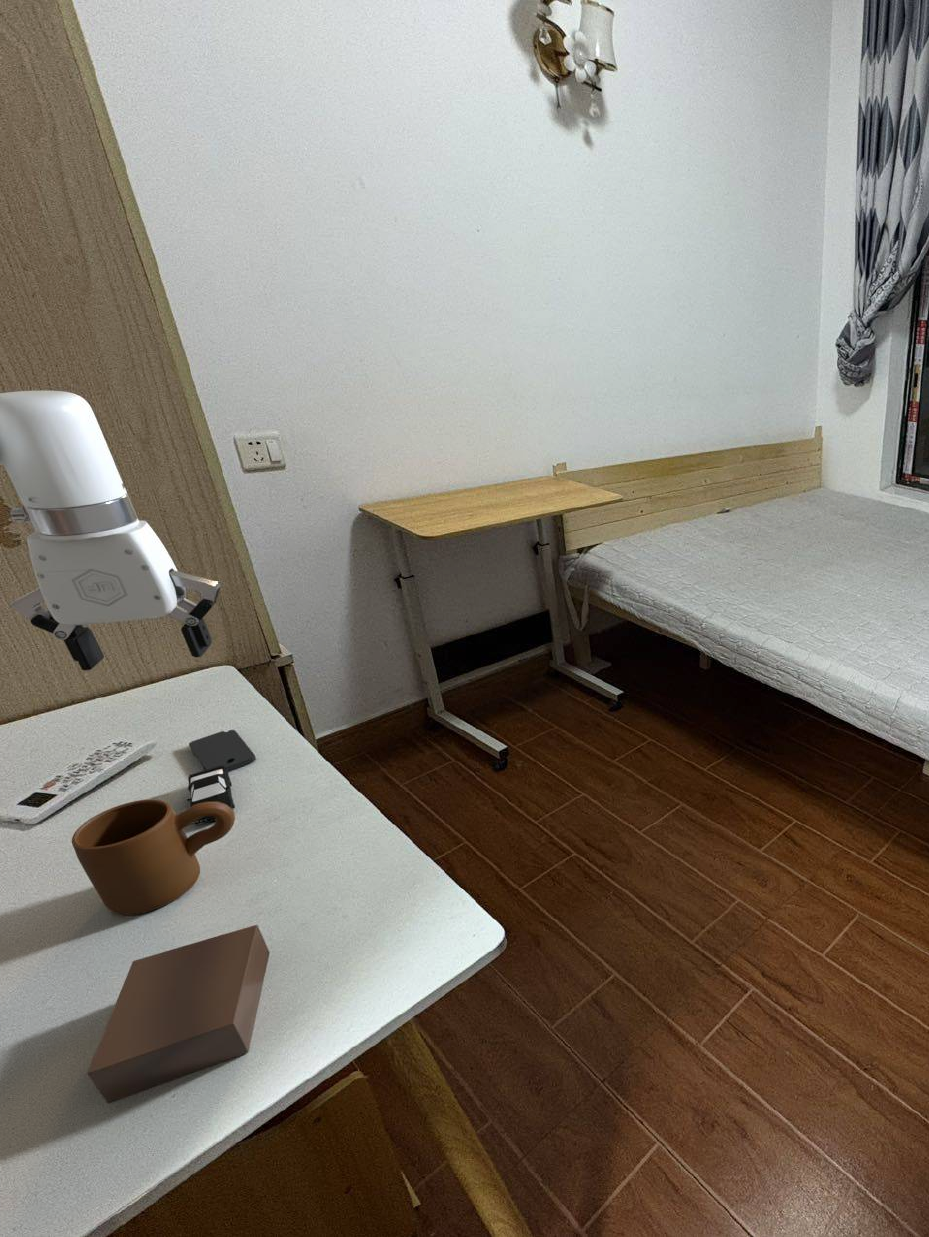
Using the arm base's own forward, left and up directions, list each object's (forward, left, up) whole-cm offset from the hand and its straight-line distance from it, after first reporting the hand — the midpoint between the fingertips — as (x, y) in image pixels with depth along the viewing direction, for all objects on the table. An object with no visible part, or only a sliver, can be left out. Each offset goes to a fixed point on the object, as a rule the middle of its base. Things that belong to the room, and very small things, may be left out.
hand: (149, 658), depth 77 cm
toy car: (+1, -3, -20) cm, 20 cm away
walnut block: (+6, -37, -20) cm, 42 cm away
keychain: (0, +8, -20) cm, 21 cm away
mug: (+1, -17, -20) cm, 26 cm away
